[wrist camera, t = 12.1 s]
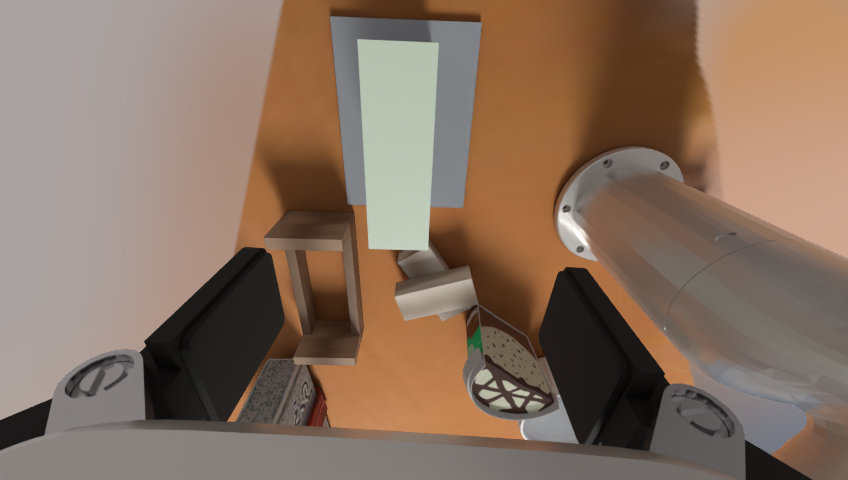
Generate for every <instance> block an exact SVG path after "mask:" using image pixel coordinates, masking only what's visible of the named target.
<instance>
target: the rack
mask: <svg viewBox="0 0 848 480" xmlns="http://www.w3.org/2000/svg"><path fill="white" fill-rule="evenodd" d="M263 239H264V243H265V247H266V249H275V250H285V252H286V257H287V261H288V266H289V271H290V275H291V280H292V285H293V289H294V294H295V299H296V303H297V308H298V313H299V317H300V322H301V327H302V331H303V336H302V338H301V340H300V343H299V345H298V347H297V349H296V352H295V354H294V356H293V359H294V363H295V364H298V365H353V366H355V365H356V361H357V356H358V352H359V347H360V343H361V338H362V334H363V329H364V324H363V312H362V300H361V288H360V276H359V264H358V252H357V240H356V228H355V216H354V212H326V211H290V210H288V211H287V212H286V213H285V214H284V216H283V217H282V218H281V219H280V220H279V221H278V222H277V223H276V224H275V225H274V227H273V228H272V229H271V230H270V231H269V232H268V233H267V234H266V235H265V237H264V238H263ZM305 250H314V251H343V260H344V269H345V278H346V287H347V296H348V305H349V314H350V321H339V320H317V316H316V311H315V305H314V300H313V294H312V288H311V283H310V277H309V272H308V266H307V261H306V255H305Z"/></svg>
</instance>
